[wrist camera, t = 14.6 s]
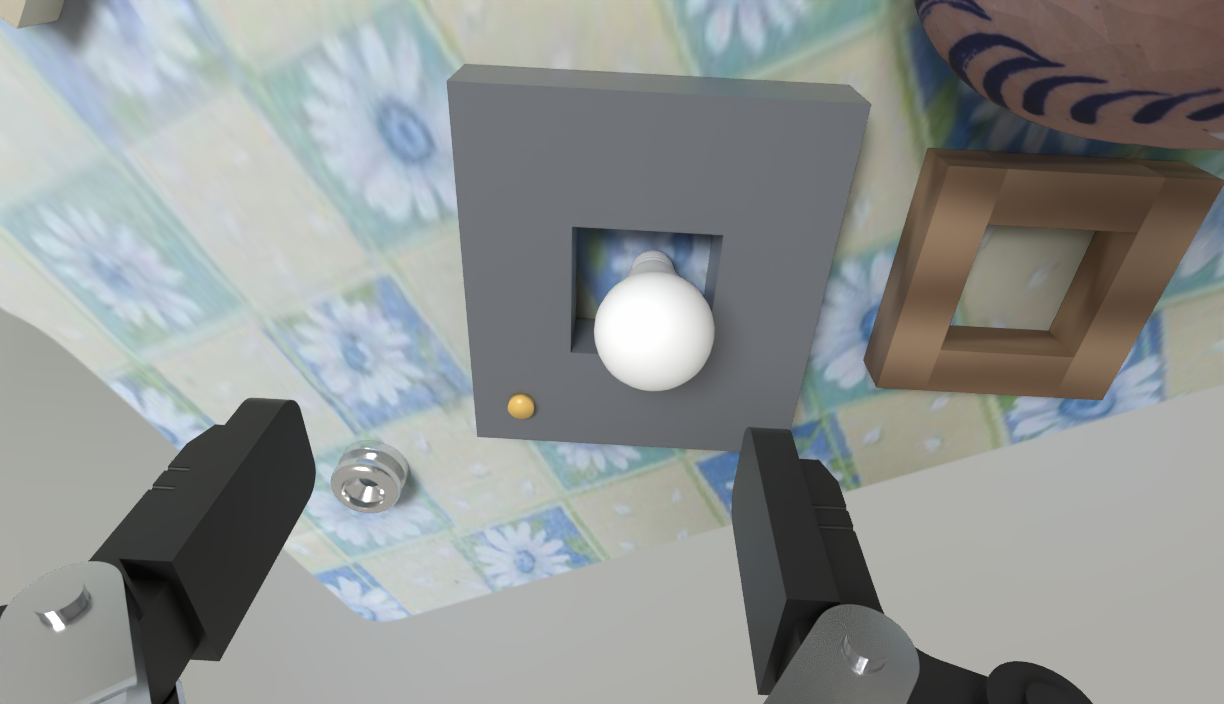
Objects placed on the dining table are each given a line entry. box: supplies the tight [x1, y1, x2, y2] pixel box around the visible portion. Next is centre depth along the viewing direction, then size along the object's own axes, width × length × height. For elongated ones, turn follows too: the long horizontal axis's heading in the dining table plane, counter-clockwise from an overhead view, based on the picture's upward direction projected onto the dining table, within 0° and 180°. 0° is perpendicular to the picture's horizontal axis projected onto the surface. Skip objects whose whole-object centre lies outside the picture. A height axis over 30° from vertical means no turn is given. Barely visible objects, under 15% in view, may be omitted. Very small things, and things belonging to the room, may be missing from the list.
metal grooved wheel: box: [331, 440, 409, 513], centre depth 50 cm, size 5×3×5 cm
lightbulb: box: [594, 250, 715, 391], centre depth 37 cm, size 6×6×11 cm
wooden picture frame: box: [863, 148, 1224, 400], centre depth 39 cm, size 14×14×3 cm
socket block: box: [447, 64, 871, 452], centre depth 39 cm, size 22×20×5 cm
